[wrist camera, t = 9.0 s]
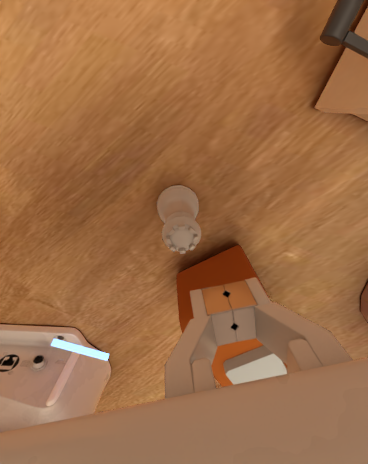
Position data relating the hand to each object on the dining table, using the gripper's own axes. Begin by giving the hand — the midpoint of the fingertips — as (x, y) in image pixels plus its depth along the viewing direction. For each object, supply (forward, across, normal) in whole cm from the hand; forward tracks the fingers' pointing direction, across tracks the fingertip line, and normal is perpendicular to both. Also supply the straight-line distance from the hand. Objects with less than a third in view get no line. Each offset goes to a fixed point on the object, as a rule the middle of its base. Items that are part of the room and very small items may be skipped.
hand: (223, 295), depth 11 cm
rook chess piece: (+16, +1, +1) cm, 17 cm away
